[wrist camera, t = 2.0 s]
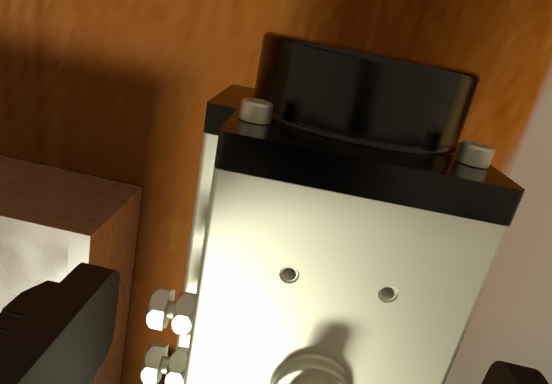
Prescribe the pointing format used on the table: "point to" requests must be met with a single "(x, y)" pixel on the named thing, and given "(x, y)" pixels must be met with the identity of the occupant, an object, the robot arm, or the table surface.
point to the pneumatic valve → (334, 225)
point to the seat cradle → (67, 236)
